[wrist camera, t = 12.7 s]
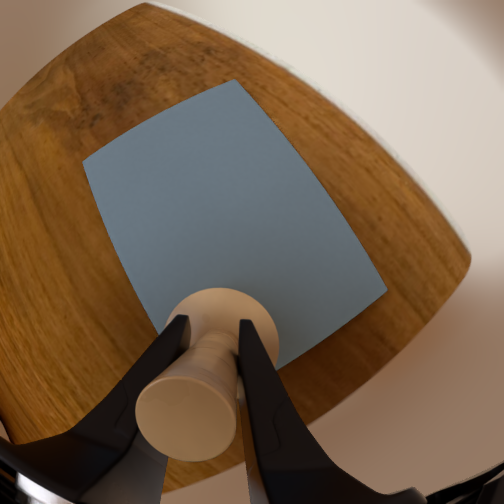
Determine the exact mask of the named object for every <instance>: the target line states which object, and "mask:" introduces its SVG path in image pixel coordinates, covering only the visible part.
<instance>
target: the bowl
mask: <svg viewBox="0 0 504 504" xmlns="http://www.w3.org/2000/svg"><path fill="white" fill-rule="evenodd" d="M0 436H1V437H3V438H4V439H6V440H8V441H9V442H10V440H9V438H8V436H7V433H6V431H5V429H4V427H3V425H2V423H1V421H0Z"/></svg>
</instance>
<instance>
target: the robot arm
mask: <svg viewBox="0 0 504 504" xmlns="http://www.w3.org/2000/svg"><path fill="white" fill-rule="evenodd" d="M190 339H191V326H190V319H189V316H188V315H184V314H178V315H176V316H175V317H174V318H173V320H172V321H171V322H170V323H169V324H168V325H167V326H166V328H165V329H164V330H163V331H162V332H161V333H160V335H159V336H158V337H157V338H156V339H155V340H154V341H153V343H152V344H151V345H150V346H149V347H148V348H147V350H146V351H145V352H144V353H143V354H142V355H141V357H140V358H139V359H138V360H137V361H136V362H135V364H134V365H133V366H132V367H131V368H130V369H129V371H128V372H127V373H126V374H125V375H124V377H123V378H122V380H120V381H119V382H118V383H117V385H116V386H115V387H114V388H113V389H112V390H111V391H110V393H109V394H108V395H107V396H106V397H105V398H104V399H103V400H102V401H101V402H100V403H99V404H98V405H97V406H96V407H95V408H94V409H92V410H91V411H90V412H89V413H88V414H87V415H86V416H85V417H84V418H83V419H82V420H80V421H79V422H78V423H77V424H76V425H75V426H74V427H72V428H71V429H70V430H68V431H66V432H64V433H62V434H59V435H55V436H52V437H49V438H45V439H42V440H38V441H34V442H30V443H26V444H21V445H15V444H12V443H11V442H9V441H8V440H6V439H4V438H3V437H1V436H0V504H160V499H161V493H162V488H163V482H164V477H165V472H166V466H167V461H168V456H166V455H164V454H162V453H161V452H159V451H158V450H156V449H155V448H154V447H153V446H152V445H151V444H150V443H149V442H148V441H147V440H146V439H145V438H144V436H143V435H142V433H141V431H140V429H139V427H138V424H137V420H136V413H135V409H136V403H137V399H138V397H139V395H140V393H141V392H142V390H143V389H144V388H145V387H146V386H147V385H148V384H149V383H150V382H152V381H153V380H154V379H155V378H156V377H157V376H159V375H160V374H161V373H162V372H163V371H164V370H165V369H167V368H168V367H169V366H170V365H171V364H172V363H173V362H174V361H176V360H177V359H178V358H179V357H180V356H181V355H182V354H183V353H185V352H186V351H187V350H188V349H189V348H190ZM237 361H238V395H239V405H240V415H241V425H242V434H243V444H244V453H245V461H246V470H247V476H248V477H247V478H248V486H249V494H250V502H251V504H504V461H502V462H500V463H498V464H496V465H494V466H492V467H491V468H489V469H487V470H485V471H482V472H481V473H478V474H476V475H474V476H472V477H469V478H467V479H465V480H462V481H460V482H458V483H455V484H452V485H450V486H447V487H445V488H442V489H440V490H438V491H435V492H433V493H430V494H428V495H426V496H424V495H423V494H422V493H420V492H419V491H418V490H417V489H416V488H415V487H410V488H407V489H403V490H400V491H397V492H393V493H390V494H381V493H378V492H376V491H374V490H373V489H371V488H369V487H368V486H366V485H365V484H363V483H361V482H360V481H358V480H357V479H355V478H354V477H352V476H351V475H349V474H348V473H346V472H345V471H343V470H342V469H341V468H339V467H338V466H337V465H336V464H335V463H334V462H333V461H332V460H331V459H330V458H329V457H328V455H327V454H326V453H325V452H324V450H323V449H322V448H321V446H320V445H319V444H318V442H317V441H316V440H315V438H314V437H313V435H312V434H311V433H310V431H309V430H308V428H307V427H306V425H305V424H304V422H303V421H302V419H301V418H300V416H299V414H298V413H297V411H296V409H295V407H294V405H293V403H292V401H291V399H290V398H289V397H288V394H287V392H286V390H285V388H284V386H283V384H282V382H281V380H280V378H279V376H278V374H277V372H276V370H275V368H274V366H273V363H272V361H271V359H270V357H269V355H268V353H267V351H266V349H265V347H264V345H263V343H262V341H261V339H260V337H259V334H258V332H257V330H256V328H255V326H254V324H253V322H252V320H250V319H240V321H239V339H238V359H237Z"/></svg>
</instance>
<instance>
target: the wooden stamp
mask: <svg viewBox="0 0 504 504" xmlns="http://www.w3.org/2000/svg"><path fill="white" fill-rule="evenodd" d="M178 314H184V315H188V316H189V319H190V326H191V339H190V348H189V349H188V350H187V351H186V352H185V353H183V354H182V355H181V356H180V357H179V358H178V359H177V360H176V361H174V362H173V363H172V364H171V365H170V366H169V367H168V368H167V369H165V370H164V371H163V372H162V373H161V374H160V375H159V376H157V377H156V378H155V379H154V380H153V381H152V382H150V383H149V384H148V385H147V386H146V387H145V388H144V389H143V390H142V392H141V393H140V395H139V397H138V399H137V403H136V409H135V413H136V420H137V424H138V427H139V429H140V431H141V433H142V435H143V436H144V438H145V439H146V440H147V441H148V442H149V443H150V444H151V445H152V446H153V447H154V448H155V449H156V450H158V451H159V452H161V453H162V454H164V455H166V456H168V457H171V458H173V459H177V460H180V461H186V462H201V461H206V460H210V459H212V458H215V457H217V456H218V455H220V454H222V453H223V452H224V451H225V450H226V449H227V448H228V447H229V446H230V444H231V443H232V441H233V439H234V437H235V433H236V420H237V399H238V398H239V395H238V361H237V359H238V339H239V321H240V319H250V320H252V322H253V324H254V326H255V328H256V330H257V332H258V334H259V337H260V339H261V341H262V343H263V345H264V347H265V349H266V351H267V353H268V355H269V357H270V359H271V361H272V363H273V366H274V368H275V365H276V363H277V359H278V355H279V337H278V332H277V329H276V326H275V324H274V322H273V319H272V318H271V316H270V315H269V313H268V312H267V310H266V309H265V308H264V307H263V306H262V305H261V304H260V303H259V302H258V301H256V300H255V299H253V298H252V297H251V296H249V295H247V294H245V293H243V292H240V291H237V290H233V289H229V288H210V289H204V290H201V291H198V292H196V293H194V294H191V295H190V296H188V297H186V298H185V299H184V300H182V301H181V302H180V303H179V304H178V305H177V306H176V307H175V308H174V310H173V311H172V312H171V314H170V316H169V318H168V320H167V322H166V324H165V327H164V329H165V328H166V326H167V325H168V324H169V323H170V322H171V321H172V320H173V318H174V317H175V316H176V315H178Z"/></svg>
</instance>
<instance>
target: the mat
mask: <svg viewBox="0 0 504 504" xmlns="http://www.w3.org/2000/svg"><path fill="white" fill-rule="evenodd" d="M83 166H84V169H85V172H86V175H87V178H88V181H89V184H90V187H91V190H92V193H93V195H94V198H95V201H96V204H97V206H98V209H99V211H100V214H101V217H102V219H103V222H104V224H105V227H106V229H107V231H108V234H109V236H110V239H111V241H112V243H113V245H114V248H115V250H116V252H117V254H118V257H119V259H120V261H121V263H122V265H123V267H124V269H125V272H126V274H127V276H128V278H129V280H130V282H131V284H132V286H133V288H134V290H135V292H136V294H137V296H138V298H139V299H140V301H141V303H142V305H143V307H144V309H145V311H146V312H147V314H148V316H149V318H150V320H151V321H152V323H153V325H154V327H155V328H156V330H157V332H158V334H159V335H160V333H161V332H162V331H163V330H164V327H165V324H166V322H167V320H168V318H169V316H170V314H171V312H172V311H173V310H174V308H175V307H176V306H177V305H178V304H179V303H180V302H181V301H182V300H184V299H185V298H186V297H188V296H190V295H191V294H194V293H196V292H198V291H201V290H204V289H210V288H229V289H233V290H237V291H240V292H243V293H245V294H247V295H249V296H251V297H252V298H253V299H255V300H256V301H258V302H259V303H260V304H261V305H262V306H263V307H264V308H265V309H266V310H267V312H268V313H269V315H270V316H271V318H272V319H273V322H274V324H275V326H276V329H277V332H278V337H279V355H278V359H277V363H276V365H275V370H278V369H280V368H281V367H283V366H284V365H286V364H288V363H289V362H291V361H292V360H294V359H295V358H297V357H299V356H300V355H302V354H303V353H305V352H306V351H308V350H309V349H311V348H312V347H314V346H315V345H317V344H318V343H319V342H321V341H322V340H324V339H325V338H327V337H328V336H329V335H331V334H332V333H334V332H335V331H336V330H338V329H339V328H341V327H342V326H343V325H345V324H346V323H347V322H349V321H350V320H351V319H353V318H354V317H355V316H357V315H358V314H359V313H360V312H362V311H363V310H364V309H366V308H367V307H368V306H369V305H371V304H372V303H373V302H374V301H376V300H377V299H378V298H379V297H380V296H382V295H383V294H384V293H385V292H386V291H387V290H388V289H387V288H386V286H385V284H384V282H383V280H382V279H381V277H380V275H379V273H378V272H377V270H376V268H375V266H374V265H373V263H372V261H371V260H370V258H369V256H368V255H367V253H366V251H365V250H364V248H363V246H362V245H361V243H360V242H359V240H358V238H357V237H356V235H355V234H354V232H353V231H352V229H351V227H350V226H349V224H348V223H347V221H346V220H345V218H344V217H343V215H342V214H341V212H340V211H339V209H338V208H337V206H336V205H335V203H334V202H333V200H332V199H331V198H330V196H329V195H328V193H327V192H326V190H325V189H324V188H323V186H322V185H321V183H320V182H319V181H318V179H317V178H316V176H315V175H314V174H313V172H312V171H311V170H310V168H309V167H308V166H307V164H306V163H305V162H304V160H303V159H302V158H301V156H300V155H299V154H298V153H297V151H296V150H295V149H294V147H293V146H292V145H291V144H290V142H289V141H288V140H287V139H286V137H285V136H284V135H283V134H282V132H281V131H280V130H279V129H278V128H277V126H276V125H275V124H274V123H273V122H272V120H271V119H270V118H269V117H268V116H267V114H266V113H265V112H264V111H263V110H262V109H261V107H260V106H259V105H258V104H257V103H256V102H255V101H254V99H253V98H252V97H251V96H250V95H249V94H248V93H247V92H246V91H245V90H244V88H243V87H242V86H241V85H240V84H239V83H238V82H237V81H236V80H235V79H234V80H231V81H229V82H226V83H224V84H221V85H219V86H216V87H214V88H211V89H209V90H207V91H204V92H202V93H200V94H198V95H195V96H193V97H191V98H189V99H187V100H185V101H183V102H181V103H179V104H176V105H174V106H172V107H171V108H169V109H167V110H165V111H163V112H161V113H159V114H157V115H155V116H153V117H152V118H150V119H148V120H146V121H144V122H143V123H141V124H139V125H137V126H136V127H134V128H132V129H131V130H129V131H127V132H126V133H124V134H122V135H121V136H119V137H118V138H116V139H115V140H113V141H111V142H110V143H108V144H107V145H105V146H104V147H102V148H101V149H99V150H98V151H97V152H95V153H94V154H92V155H91V156H89V157H88V158H87V159H85V160H84V161H83Z"/></svg>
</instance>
